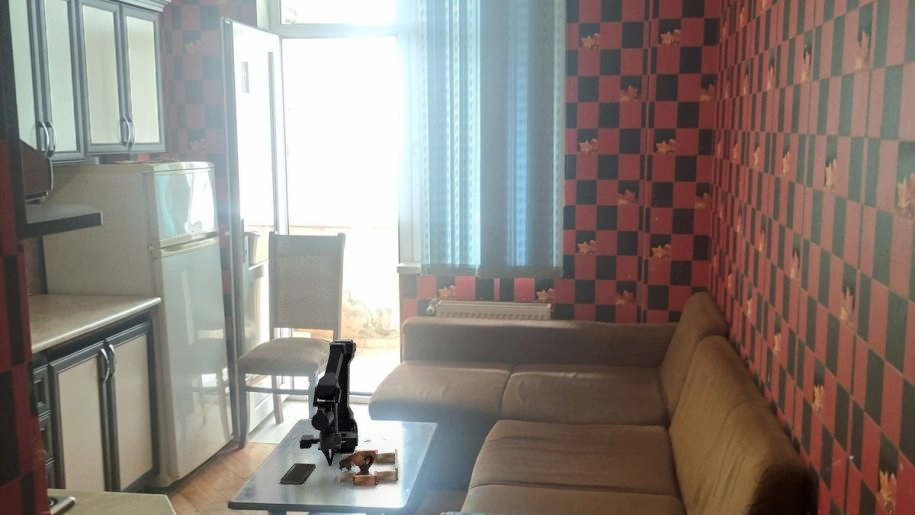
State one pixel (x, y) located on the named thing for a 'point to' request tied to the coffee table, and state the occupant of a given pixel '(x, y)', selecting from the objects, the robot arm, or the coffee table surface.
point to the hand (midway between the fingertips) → (330, 465)
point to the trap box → (377, 474)
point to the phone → (298, 473)
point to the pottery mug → (357, 463)
